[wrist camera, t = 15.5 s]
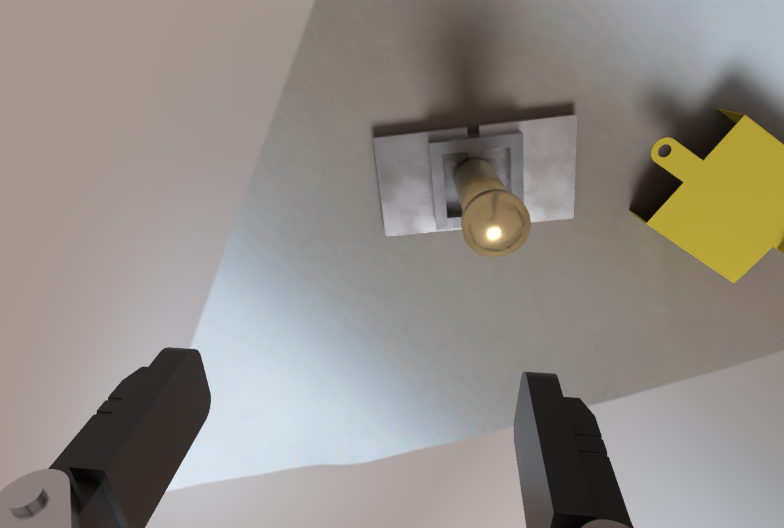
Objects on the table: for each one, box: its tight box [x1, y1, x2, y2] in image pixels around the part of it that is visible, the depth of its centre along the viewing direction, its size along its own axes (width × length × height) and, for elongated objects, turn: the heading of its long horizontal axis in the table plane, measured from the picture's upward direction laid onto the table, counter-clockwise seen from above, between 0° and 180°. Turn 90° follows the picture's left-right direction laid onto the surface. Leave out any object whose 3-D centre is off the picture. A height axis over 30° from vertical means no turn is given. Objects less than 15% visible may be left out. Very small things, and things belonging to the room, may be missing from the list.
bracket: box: [629, 109, 784, 283], centre depth 40 cm, size 16×8×15 cm
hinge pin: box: [454, 159, 531, 257], centre depth 37 cm, size 4×4×12 cm
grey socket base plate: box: [373, 113, 577, 236], centre depth 42 cm, size 9×17×2 cm, turn 97°
